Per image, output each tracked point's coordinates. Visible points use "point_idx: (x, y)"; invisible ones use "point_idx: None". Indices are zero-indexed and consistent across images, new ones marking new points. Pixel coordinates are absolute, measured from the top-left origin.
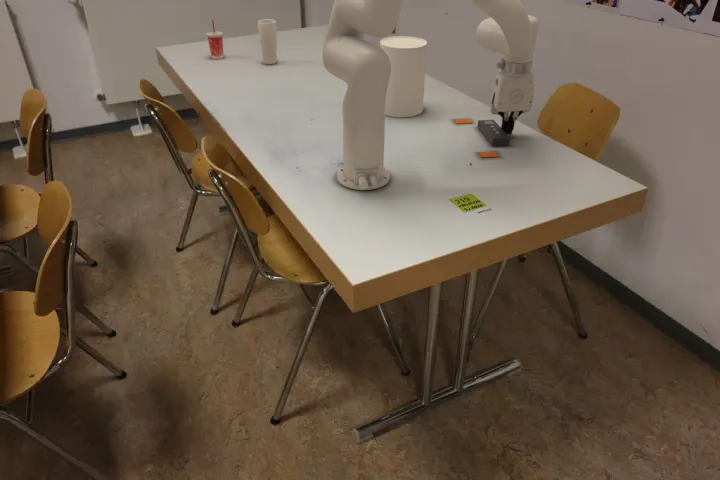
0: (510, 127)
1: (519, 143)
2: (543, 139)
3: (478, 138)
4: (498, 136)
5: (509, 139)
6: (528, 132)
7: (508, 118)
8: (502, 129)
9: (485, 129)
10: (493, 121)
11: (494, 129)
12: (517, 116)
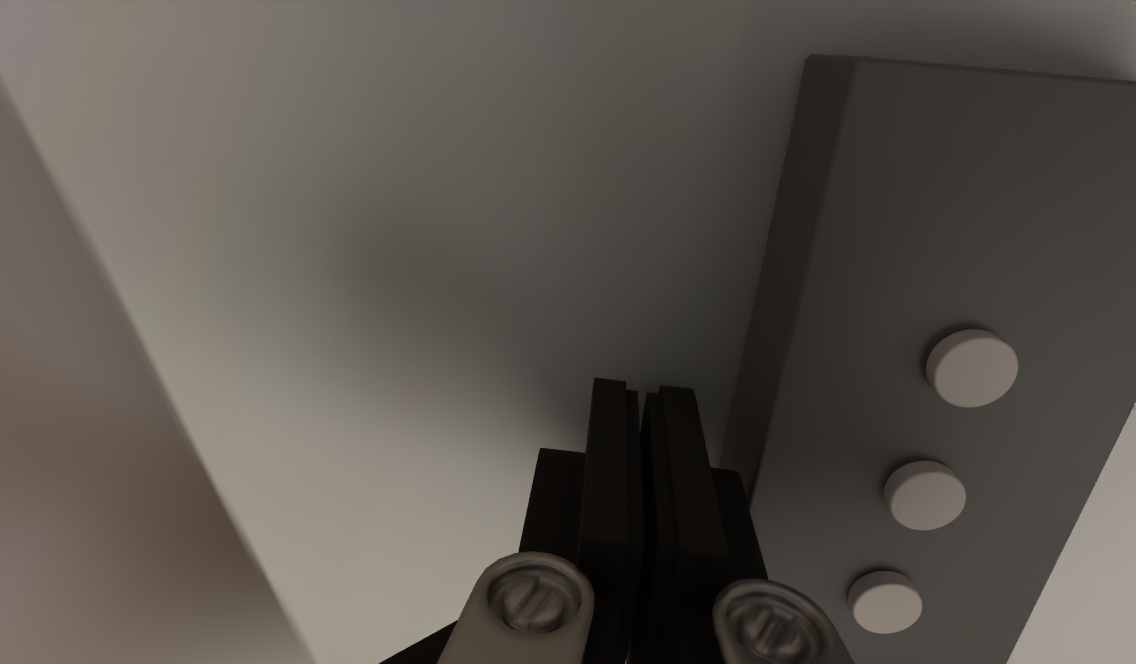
0: (630, 456)
1: (564, 102)
2: (102, 166)
3: (1115, 446)
4: (1071, 191)
5: (849, 56)
6: (265, 448)
7: (723, 632)
8: (753, 483)
9: (1054, 559)
10: None
11: (950, 490)
12: (462, 634)
